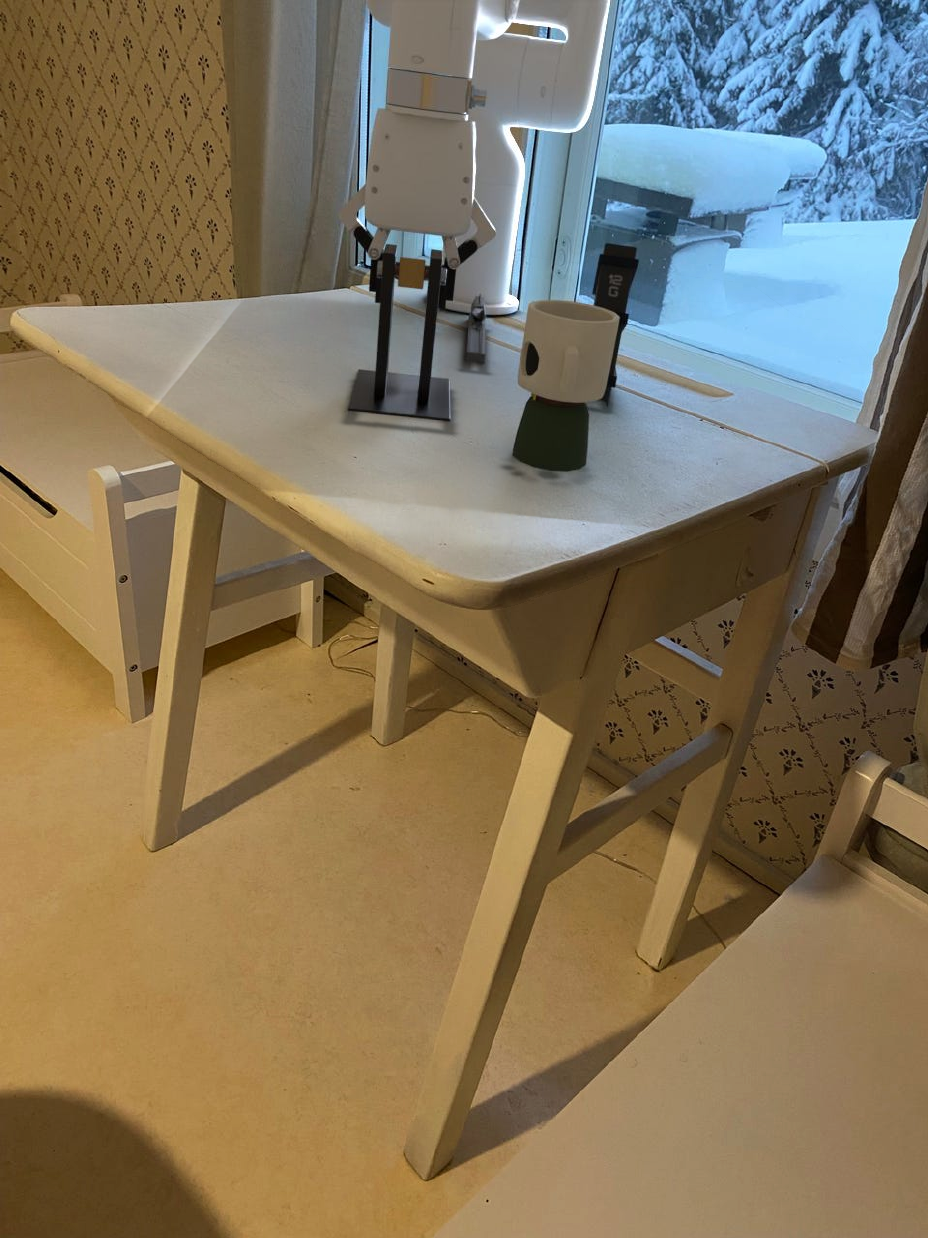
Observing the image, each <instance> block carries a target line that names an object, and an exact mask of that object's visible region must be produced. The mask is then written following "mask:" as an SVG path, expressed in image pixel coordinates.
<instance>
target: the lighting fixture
mask: <svg viewBox="0 0 928 1238" xmlns="http://www.w3.org/2000/svg"><path fill="white" fill-rule="evenodd" d="M475 308H479V309H481V308H482V309H483V310H482V311H481V312H480V313H475V312H474V309H475ZM486 318H487V315H486V307H485V303H484V297H481V294H480V295H479V296H475V299H474V301H473V303H472V305H471V312H469V313H468V330H467V331H468V332H467V345H466V355H465V362H468V363H477V364H485V362H486Z"/></svg>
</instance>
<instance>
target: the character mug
mask: <svg viewBox="0 0 928 1238" xmlns="http://www.w3.org/2000/svg"><path fill="white" fill-rule="evenodd" d="M619 318H620V317H619V316H618V315H617V314H616V313H614V312H612V311H609V310H607V309H604V308H601V307H597V306H594V305H593V304H589V303H583V302H578V301H572V300H561V299H539V300H534V301H531V302H529V303H528V305H527V311H526V317H525V324H524V332H523V338H522V343H521V344H522V345H521V349H520V356H519V365H518V372H517V384H518V386H519V387H521V389H523V390H525V391H528V392H529V393H530V396H529V398H528V399H527V401H526V402H525V404H524V408H523V411H522V414H521V417H520V421H519V424H518V428H517V431H516V435H515V440H514V442H513V447H512V450H513V452H512V457H514V458H515V459H516V460H517V461H519V462H520V463H522V464H524V465H527V466H529V467H531V468H534V469H539V470H542V471H543V470H544V471H548V472H562V473H563V472H566V473H567V472H574V471H578V470H581V469H582V468H584V466H586V465H587V457H588V450H589V449H588V448H589V429H590V427H589V426H590V412H589V408H588V405H587V403H591V402H592V403H593V402H596V401H600V400H599V399H602V397H603V395H604V393H605V389H606V386H607V381H608V375H609V370H610V365H611V360H612V355H613V350H614V345H615V340H616V335H617V330H618V325H619Z"/></svg>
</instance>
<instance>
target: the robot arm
mask: <svg viewBox="0 0 928 1238" xmlns="http://www.w3.org/2000/svg"><path fill="white" fill-rule="evenodd" d="M365 3H366V7H367V9H368V11H369V13H370V15H371V16H372V17H373V19H374V20H375V21H377V22H378V23H379V24H381V25H382V26H384V27H387V28H390V31H389V46H388V47H389V48H388V61H387V74H386V75H387V76H386V90H385V91H386V92H385V103H384V104H385V107H384V108H381V107H380V108H379V107H378V108H377V110H376V114H375V118H374V122H373V127H372V133H371V138H370V146H369V152H368V161H367V170H366V181H365V184H363V186H362V187H360V189H359V190H358V191H357V192H356V193H355V194H354V195H353V196H351V198H350V199H349V200H348V201H347V202H346V203H345V204H344V205H343V206H342V207H341V208H340V209H339V210H338V211H337V219H338V220H339V221H340V222H341V224H343V226H344V227H345V228H346V229H347V230H348V231H349V232H350V233H351V235H353V237H354V238H355V240H356V241H357V243H358V244H359V245H360V246H361V248H362V249H363V250H364V251H365V253H366V254H367V256H368V258H370V268H369V281H368V282H369V283H368V292H371V293H375V296H374V303H375V304H380V296H381V281H382V278H377V265H378V261H383V253H384V250H385V246H386V244H387V240H388V238H389V236H390V233H391V231H396V232H397V231H398V232H405V233H411V234H412V233H414V234H422V235H430V236H436V237H437V236H439V237H441V240H442V249H441V250H442V268H446V269H447V273H446V283H445V285H440V289H439V299H438V310H439V311H441V312H445V311H446V310H450V311H455V312H459V313H466V314H469V312H471V305H472V303H473V301H474V299H475V296H479V295H480V294H481V297H484V303H485V307H486V316H497V315H498V316H501V315H502V316H503V315H509V314H513V313H516V311H518V310H519V304H520V303H519V300H518V299H517V297H515V296H513V295H511V294H510V285H511V279H512V278H511V276H512V269H513V263H514V262H513V261H514V255H515V248H516V241H517V233H518V227H519V217H520V211H521V203H522V202H521V201H522V195H523V188H524V183H525V172H526V170H525V169H526V168H525V161H524V160H525V159H524V157H523V154H522V152H521V150H520V148H519V146H518V144H517V142H516V141H515V138H514V137H513V135H512V133H511V130H510V128H512V127H513V128H514V127H515V128H526V129H535V130H540V131H541V130H542V131H548V132H549V131H550V132H556V133H557V132H558V133H574V132H577V131H579V130H581V129H582V128H583V127H584V126H585V124H586V123H587V121H588V119H589V117H590V114H591V110H592V107H593V103H594V99H595V93H596V88H597V82H598V76H599V68H600V64H601V57H602V51H603V44H604V39H605V33H606V27H607V23H608V22H607V21H608V15H609V10H610V9H609V8H610V3H611V0H365ZM512 23H516V24H517V23H518V24H524V25H531V26H540V27H547V28H548V27H549V28H555V29H559V30H561V31H562V32H563V33H564V35H565V40H559V39H551V38H543V37H534V36H531V35H524V34H516V33H510V32H509V33H508V32H506V31H507V30H508V29H509V27H510V26H511V24H512ZM363 207H364V218H365V220H366V221H367V222H368V223H369V224H370V225H371V226H373V227H376V230H375V233H374V235H373V234H372V233H371V232H370V230H369V229H368V228H367V226H365V224H363V223H362V222H361V220H360V219H359V218H358V215H357V214H358V212H359V211H360V210H361V209H362V208H363ZM482 310H483V309H482V308H481V309H479V308H475V309H474V312H475V313H480V312H481V311H482Z"/></svg>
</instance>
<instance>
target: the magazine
mask: <svg viewBox="0 0 928 1238" xmlns="http://www.w3.org/2000/svg"><path fill="white" fill-rule="evenodd" d="M603 247H604V248H603V252H602V253H600V254H599V256H598V260H597V267H596V270H595V271H596V272H595V276H594V281H593V286H592V292H591V295H594V299H593V304H592V305H594V306H597V307H601V308H604V309H607V310H609V311H612V312H614V313H616V314H617V315H618V316H619V317H620V318H619V325H618V330H617V335H616V340H615V345H614V350H613V355H612V360H611V365H610V370H609V375H608V381H607V386H606V389H605V393H604V395H603V397H602V399H599V400H598V401H601V402H604V403H605V406H606V407H607V408H608V406H609V401H610V398H611V397H610V396H611V391H612V388H616V385H617V380H618V375H617V368H616V367H617V366H616V365H617V360H618V356H619V350H620V344H621V340H622V339H621V338H622V335H623V332H624V330H625V328H626V327H627V326H628V323H629V317H630V313H627V307H628V301H629V296H630V291H631V288H632V285H633V282H634V280H635V277H636V273H637V271H638V267H639V264H640V263H639V262H640V259H638V258H636V257H637V253H638V252H637V251H638V248H637V247H636V246H630V245H622V244H617V243H610V242H608V243H607V242H606V243H605V244H604V246H603Z"/></svg>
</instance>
